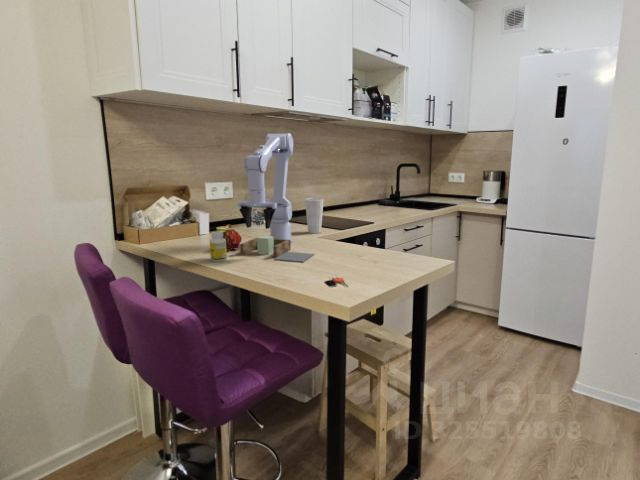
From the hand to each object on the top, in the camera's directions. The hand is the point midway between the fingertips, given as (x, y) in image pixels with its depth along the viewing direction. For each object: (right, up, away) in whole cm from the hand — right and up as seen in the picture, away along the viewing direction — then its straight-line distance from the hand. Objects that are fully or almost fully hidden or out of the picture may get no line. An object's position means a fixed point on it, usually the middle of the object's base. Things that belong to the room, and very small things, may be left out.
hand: (258, 227), depth 149 cm
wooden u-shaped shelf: (+2, -9, +5) cm, 11 cm away
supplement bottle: (-13, -12, -4) cm, 18 cm away
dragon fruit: (-13, -8, +12) cm, 19 cm away
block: (+2, -9, +6) cm, 11 cm away
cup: (+20, -1, +44) cm, 48 cm away
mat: (+13, -11, -2) cm, 17 cm away
